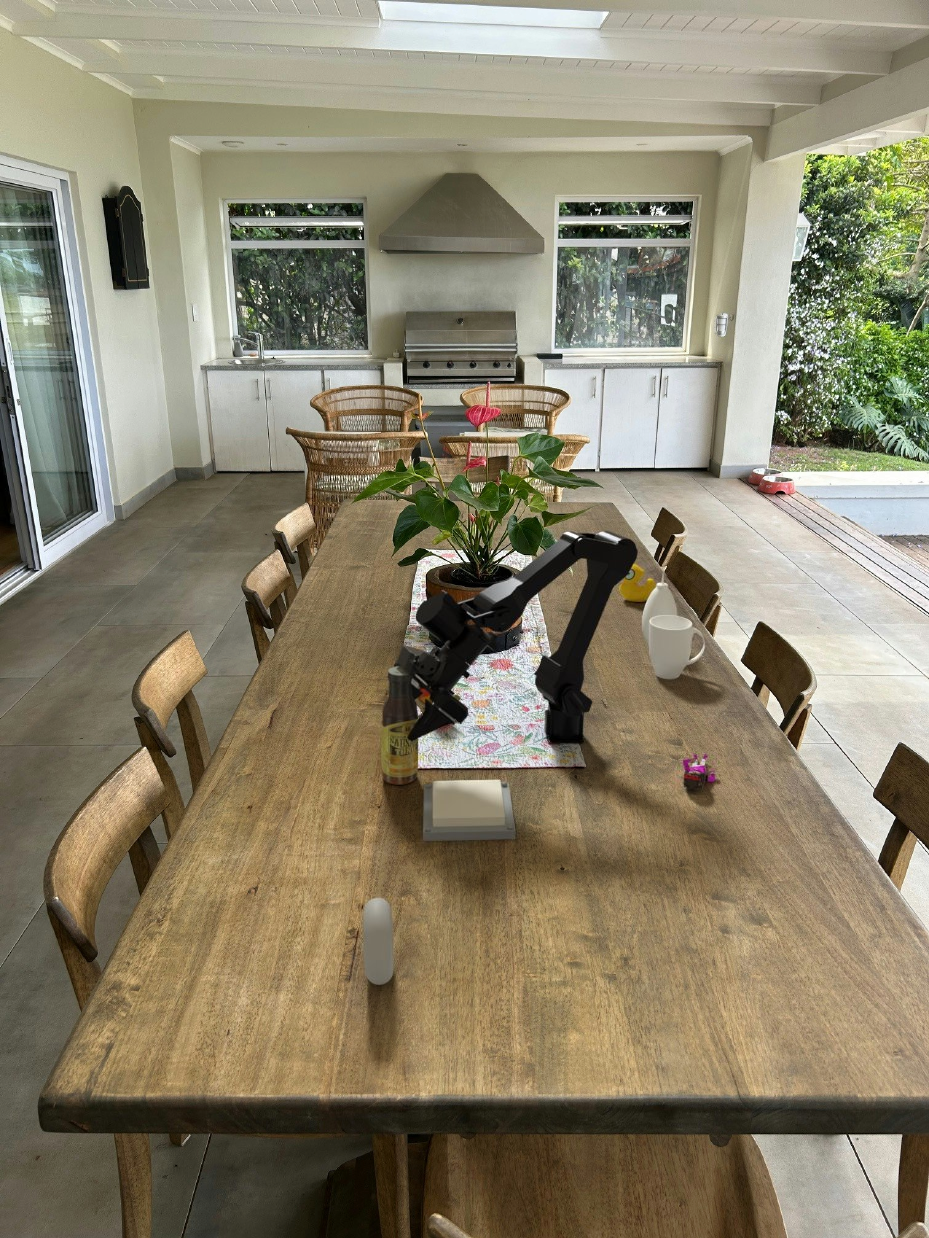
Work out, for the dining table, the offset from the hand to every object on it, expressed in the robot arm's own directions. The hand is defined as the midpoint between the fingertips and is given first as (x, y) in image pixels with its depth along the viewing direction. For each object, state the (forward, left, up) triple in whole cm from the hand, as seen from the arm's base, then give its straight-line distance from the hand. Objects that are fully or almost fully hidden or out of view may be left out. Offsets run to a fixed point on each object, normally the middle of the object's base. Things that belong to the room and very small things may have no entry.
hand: (398, 727), depth 153 cm
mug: (-57, -41, -10) cm, 71 cm away
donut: (+1, +47, -10) cm, 48 cm away
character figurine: (-51, +2, -10) cm, 52 cm away
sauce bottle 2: (-57, -56, -10) cm, 81 cm away
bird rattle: (-6, -24, -10) cm, 27 cm away
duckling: (-58, -88, -10) cm, 106 cm away
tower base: (-11, +12, -9) cm, 19 cm away
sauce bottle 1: (0, 0, -10) cm, 10 cm away
